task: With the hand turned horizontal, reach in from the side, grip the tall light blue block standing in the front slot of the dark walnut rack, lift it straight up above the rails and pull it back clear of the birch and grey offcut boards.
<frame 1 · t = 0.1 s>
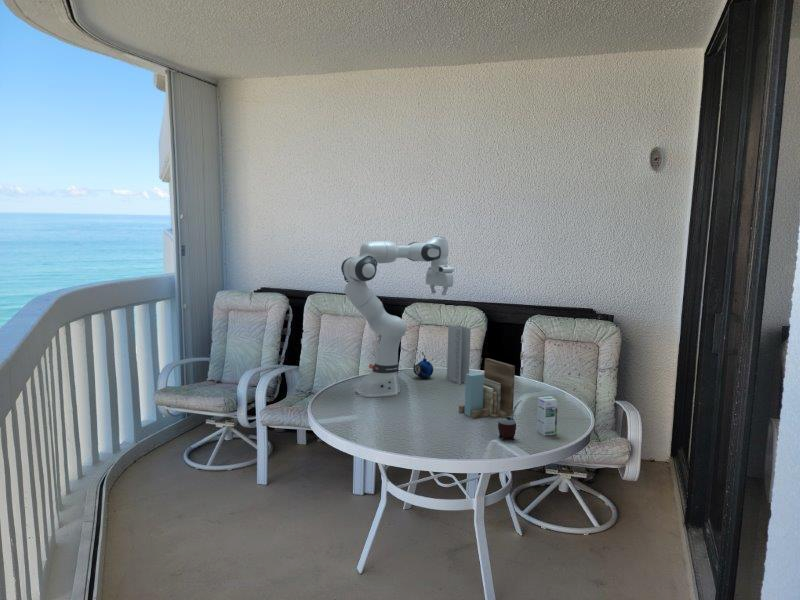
hand: (438, 294, 301), 48 cm above the table, tool pointing down, fingers open, 8 cm apart
light blue tall block: (473, 414, 255), on the table
mate gourd: (507, 438, 225), on the table
bomb: (423, 378, 319), on the table
brochure: (457, 381, 314), on the table
offcut rack: (473, 414, 255), on the table
syrup box: (546, 433, 232), on the table
offcut stack: (486, 395, 259), point 8 cm above the table
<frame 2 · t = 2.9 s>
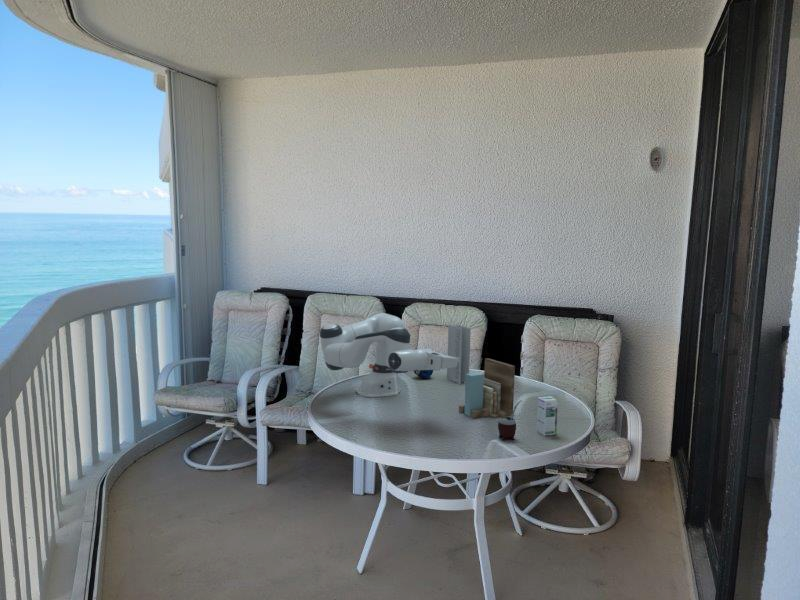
hand: (452, 357, 246), 27 cm above the table, tool horizontal, fingers open, 8 cm apart
nothing on the table moved.
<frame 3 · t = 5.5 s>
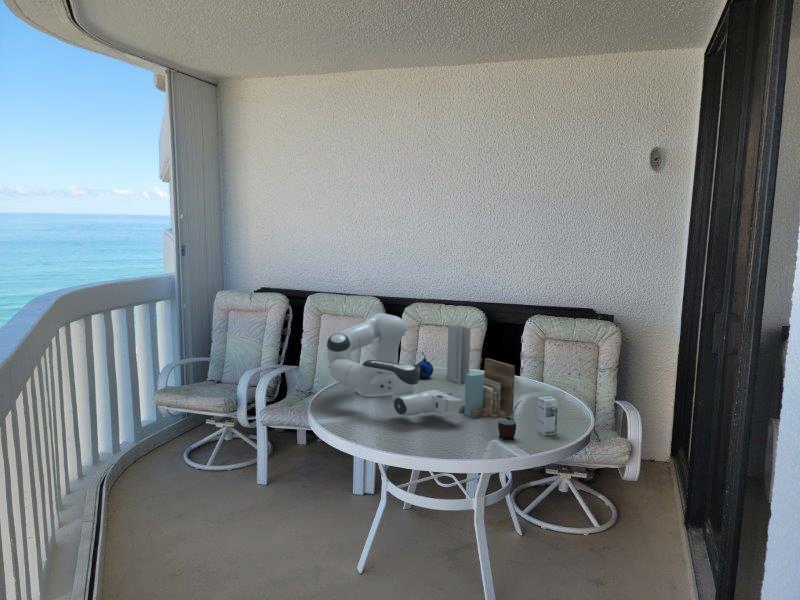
hand: (457, 397, 249), 9 cm above the table, tool horizontal, fingers open, 8 cm apart
nothing on the table moved.
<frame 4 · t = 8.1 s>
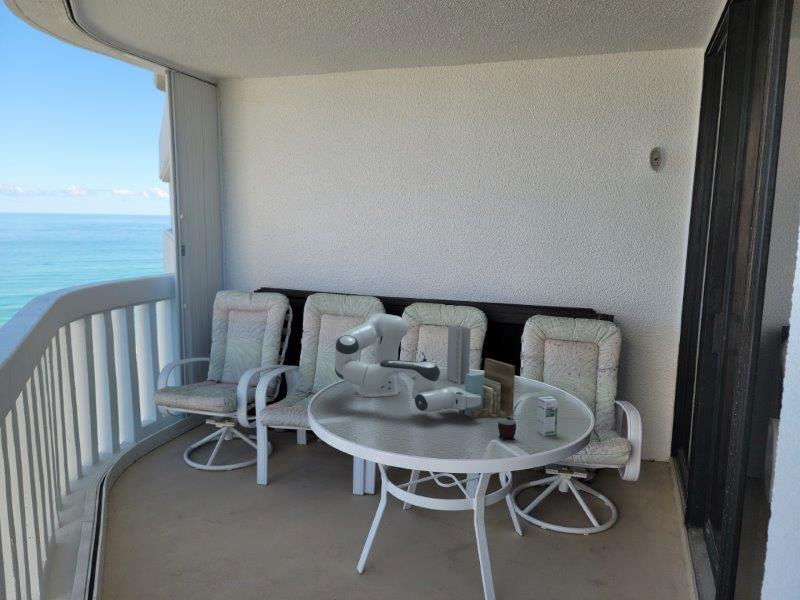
hand: (475, 393, 255), 9 cm above the table, tool horizontal, fingers closed on light blue tall block, 4 cm apart
light blue tall block: (473, 414, 255), on the table, touching gripper
everything else where it was.
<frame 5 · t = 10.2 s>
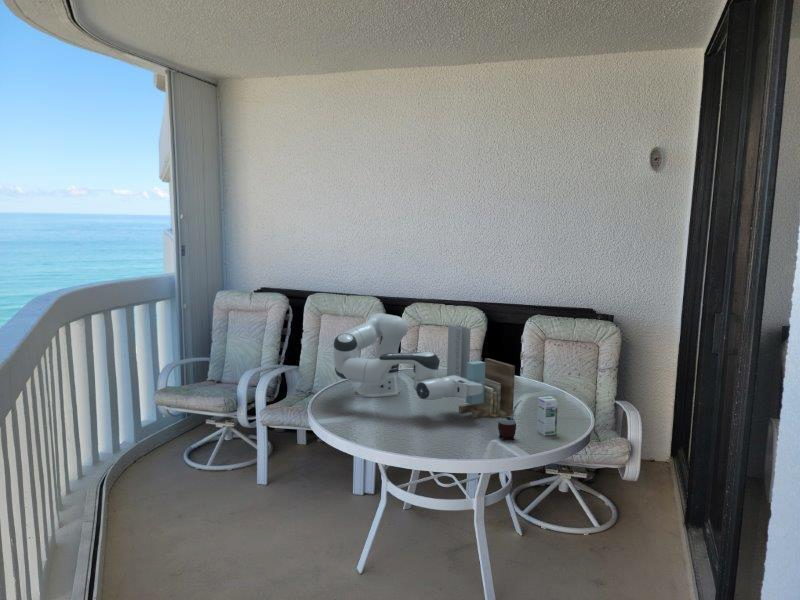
hand: (477, 382, 254), 14 cm above the table, tool horizontal, fingers closed on light blue tall block, 4 cm apart
light blue tall block: (475, 402, 254), point 5 cm above the table, touching gripper
everything else where it was.
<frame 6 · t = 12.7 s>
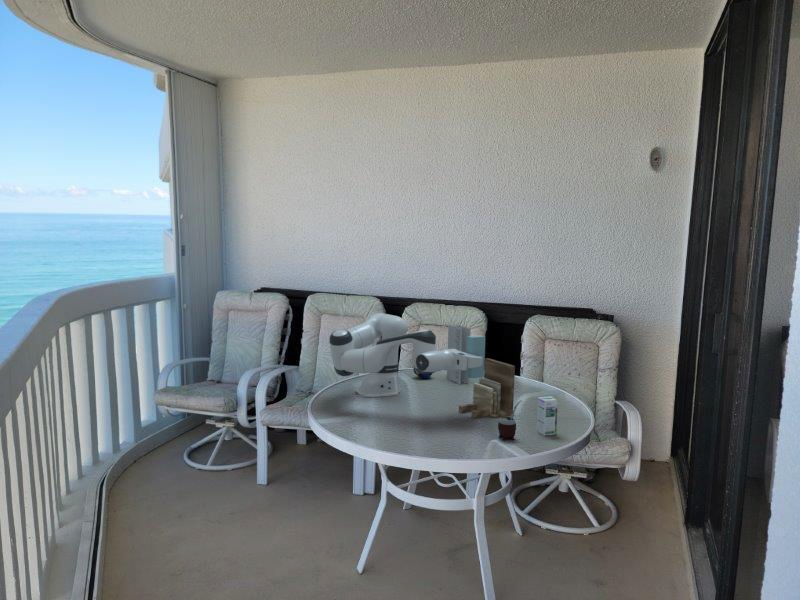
hand: (477, 356, 253), 26 cm above the table, tool horizontal, fingers closed on light blue tall block, 4 cm apart
light blue tall block: (474, 376, 253), point 17 cm above the table, touching gripper
everything else where it was.
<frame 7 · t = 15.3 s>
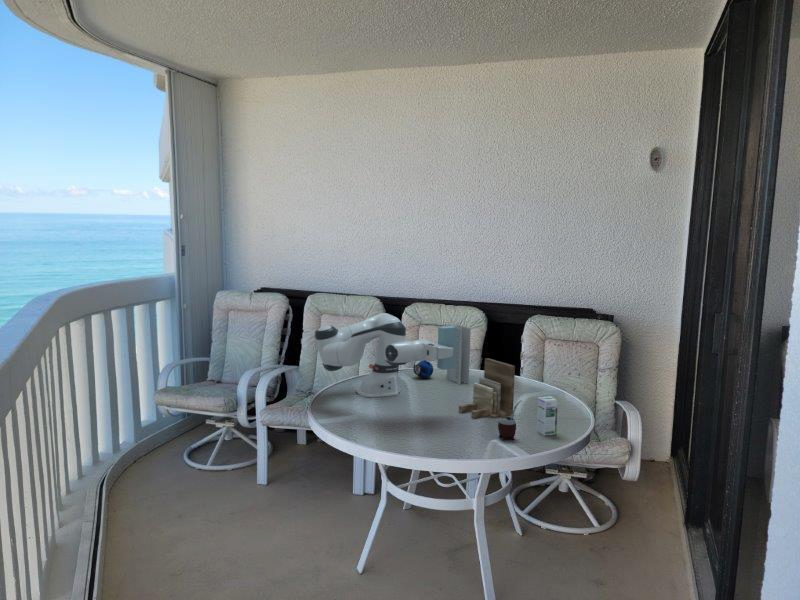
hand: (448, 347, 250), 30 cm above the table, tool horizontal, fingers closed on light blue tall block, 4 cm apart
light blue tall block: (446, 368, 251), point 21 cm above the table, touching gripper
everything else where it was.
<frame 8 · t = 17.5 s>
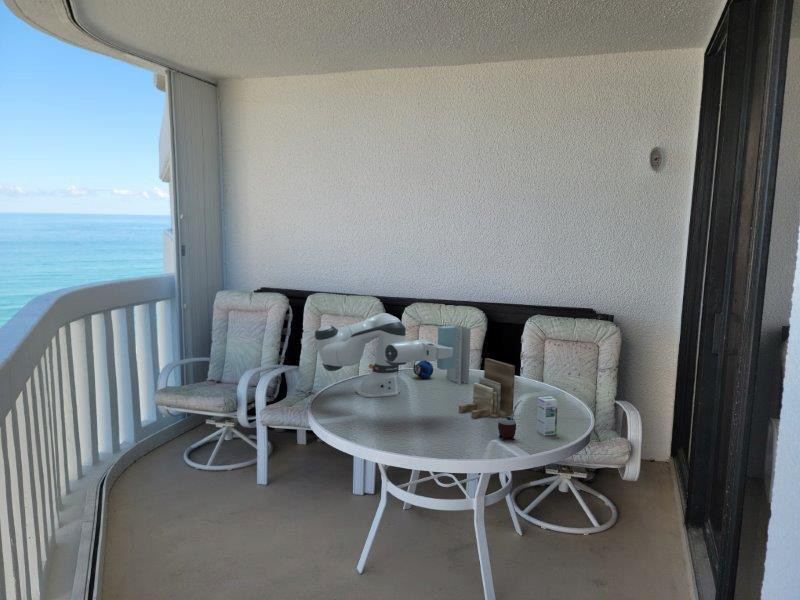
hand: (448, 347, 250), 30 cm above the table, tool horizontal, fingers closed on light blue tall block, 4 cm apart
light blue tall block: (446, 368, 251), point 21 cm above the table, touching gripper
everything else where it was.
at the end: the gripper is holding light blue tall block; light blue tall block point 20.9 cm above the table; light blue tall block inside the target area (3.2 cm from its centre), point 20.9 cm above the table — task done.
